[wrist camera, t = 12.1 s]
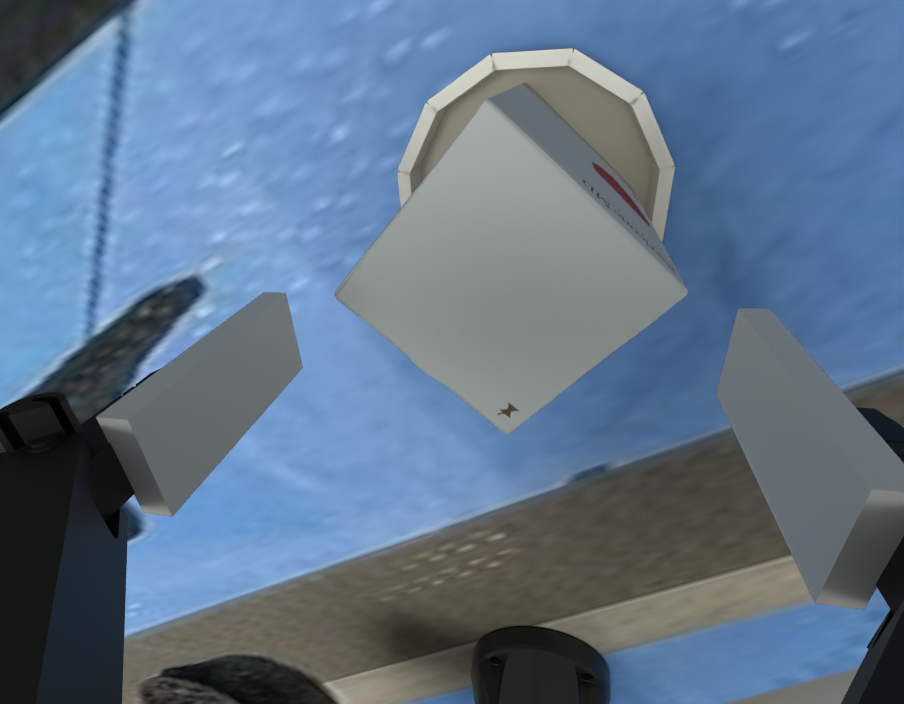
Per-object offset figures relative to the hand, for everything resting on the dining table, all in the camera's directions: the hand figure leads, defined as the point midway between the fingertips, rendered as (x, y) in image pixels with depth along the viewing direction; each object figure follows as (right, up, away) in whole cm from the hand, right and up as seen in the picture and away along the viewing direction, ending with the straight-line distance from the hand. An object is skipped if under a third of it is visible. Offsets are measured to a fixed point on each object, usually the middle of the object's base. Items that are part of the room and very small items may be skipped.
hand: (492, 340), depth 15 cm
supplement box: (+3, +9, +15) cm, 18 cm away
